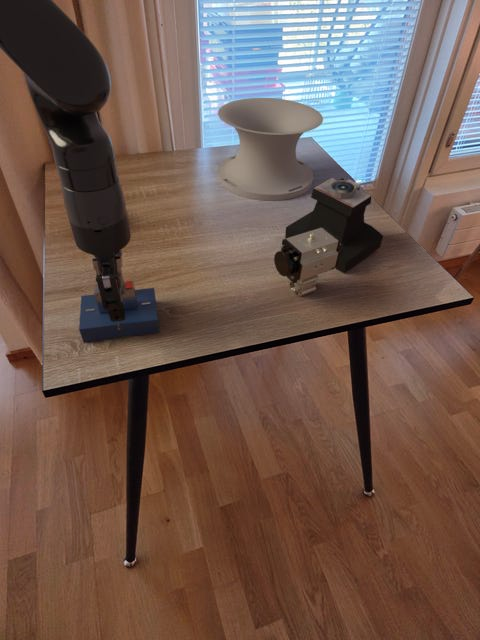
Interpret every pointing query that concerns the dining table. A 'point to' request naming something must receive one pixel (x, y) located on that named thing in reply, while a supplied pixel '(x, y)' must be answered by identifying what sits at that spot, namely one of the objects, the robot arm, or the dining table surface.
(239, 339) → the dining table surface
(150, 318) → the toggle switch base
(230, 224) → the dining table surface
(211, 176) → the dining table surface
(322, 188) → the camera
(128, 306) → the toggle switch lever
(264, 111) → the vase
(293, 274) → the pneumatic valve
